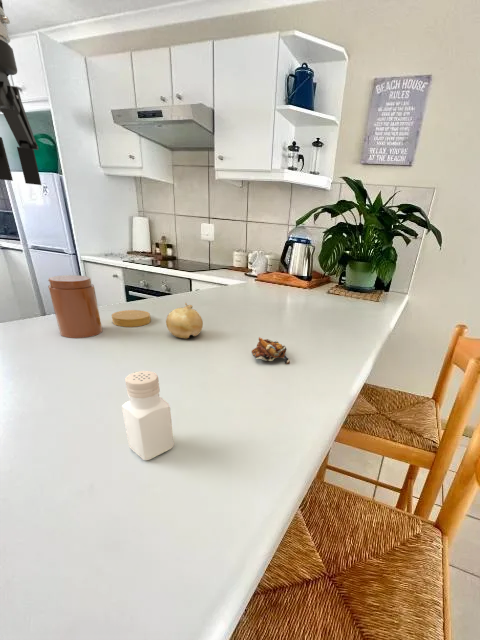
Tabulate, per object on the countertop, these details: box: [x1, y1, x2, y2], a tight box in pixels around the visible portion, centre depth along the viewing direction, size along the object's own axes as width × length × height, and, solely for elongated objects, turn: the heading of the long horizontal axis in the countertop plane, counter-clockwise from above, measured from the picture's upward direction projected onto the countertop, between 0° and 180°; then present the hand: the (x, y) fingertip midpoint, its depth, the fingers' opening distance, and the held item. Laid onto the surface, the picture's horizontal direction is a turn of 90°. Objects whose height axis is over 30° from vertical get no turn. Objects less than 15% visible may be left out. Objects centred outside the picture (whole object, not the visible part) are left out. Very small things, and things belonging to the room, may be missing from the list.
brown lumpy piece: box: [251, 336, 291, 365], centre depth 68 cm, size 7×12×4 cm, turn 15°
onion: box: [165, 302, 204, 339], centre depth 73 cm, size 8×8×7 cm
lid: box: [111, 309, 152, 328], centre depth 80 cm, size 9×9×2 cm
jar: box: [47, 274, 103, 339], centre depth 69 cm, size 8×8×12 cm
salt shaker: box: [121, 370, 175, 461], centre depth 36 cm, size 4×4×10 cm
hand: (19, 182), depth 65 cm, fingers open, 13 cm apart
